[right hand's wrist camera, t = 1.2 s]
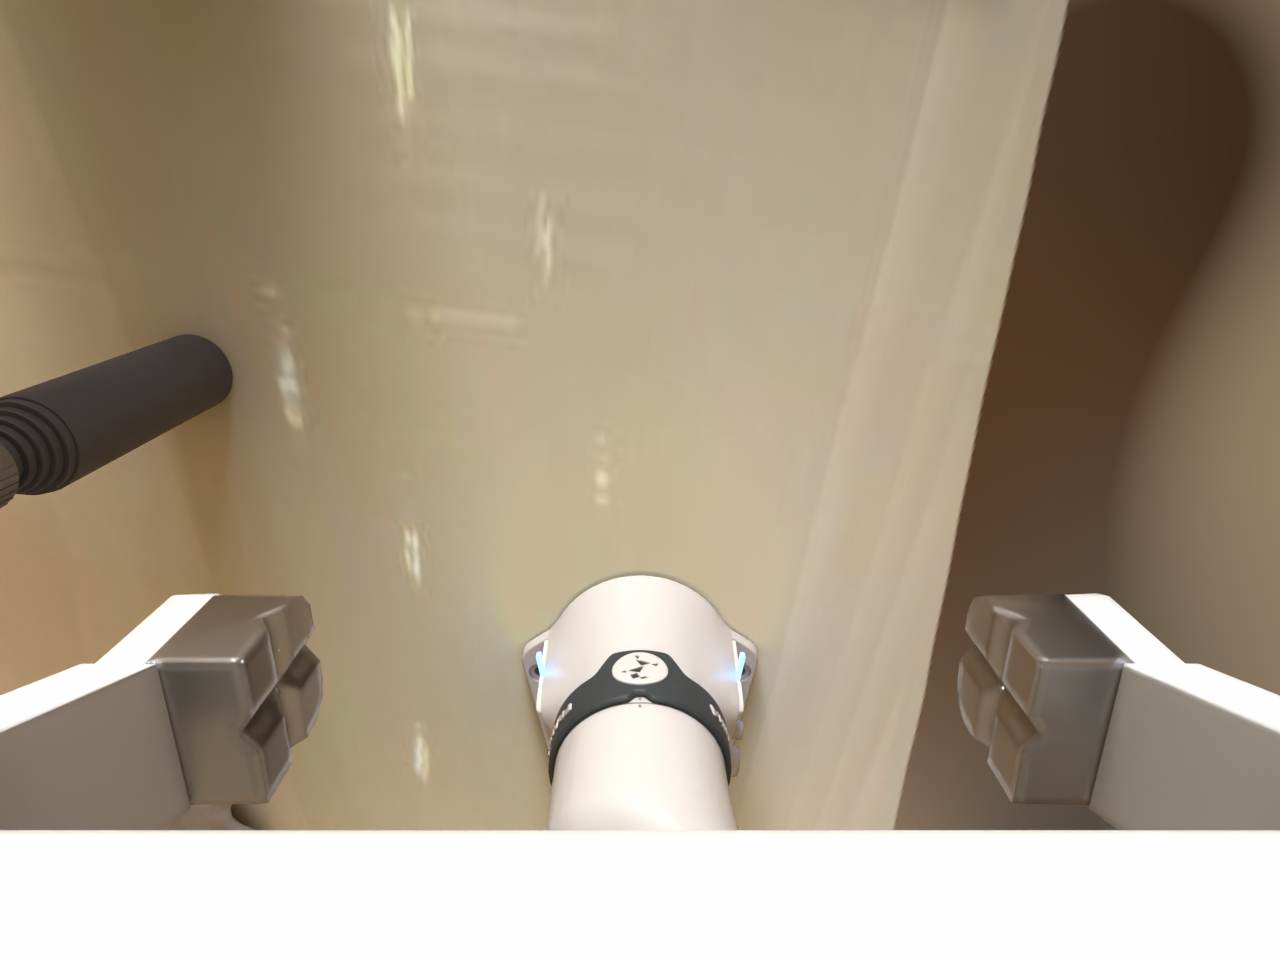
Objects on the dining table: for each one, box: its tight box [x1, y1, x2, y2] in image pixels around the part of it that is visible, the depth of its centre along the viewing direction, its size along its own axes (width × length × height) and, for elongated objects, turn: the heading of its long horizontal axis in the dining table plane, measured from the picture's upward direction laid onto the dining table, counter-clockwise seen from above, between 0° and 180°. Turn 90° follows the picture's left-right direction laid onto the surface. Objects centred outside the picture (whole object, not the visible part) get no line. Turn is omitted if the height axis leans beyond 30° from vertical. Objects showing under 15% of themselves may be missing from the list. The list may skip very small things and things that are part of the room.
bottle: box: [0, 335, 232, 495], centre depth 47 cm, size 5×5×22 cm
